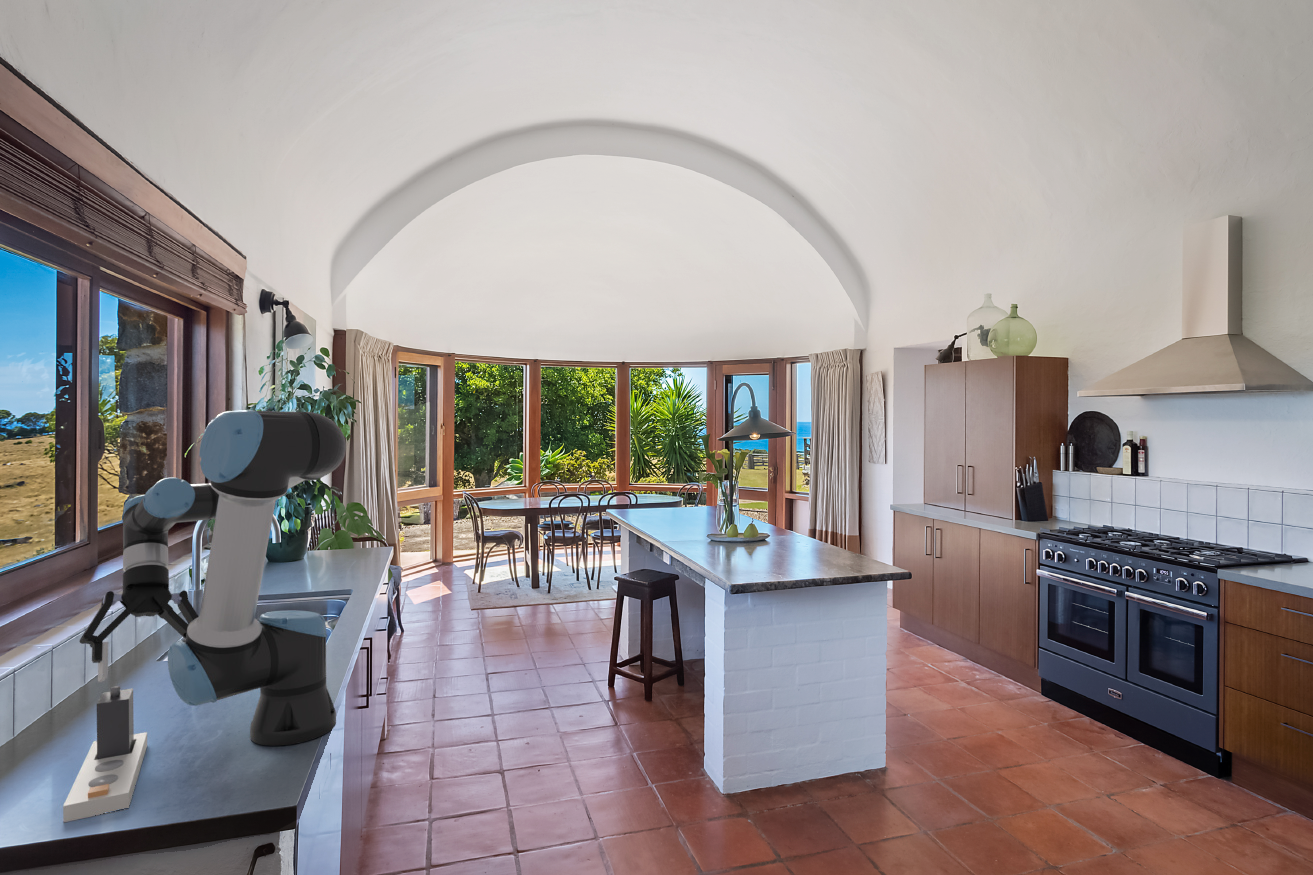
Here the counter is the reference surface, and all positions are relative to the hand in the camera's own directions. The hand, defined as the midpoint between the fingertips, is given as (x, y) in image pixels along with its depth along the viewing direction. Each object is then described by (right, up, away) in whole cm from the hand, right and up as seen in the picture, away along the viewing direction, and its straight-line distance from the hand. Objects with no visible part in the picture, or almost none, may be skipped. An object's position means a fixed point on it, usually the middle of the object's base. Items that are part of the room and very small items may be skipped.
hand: (146, 675), depth 136 cm
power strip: (+4, -13, -14) cm, 19 cm away
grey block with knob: (0, -12, -8) cm, 14 cm away
